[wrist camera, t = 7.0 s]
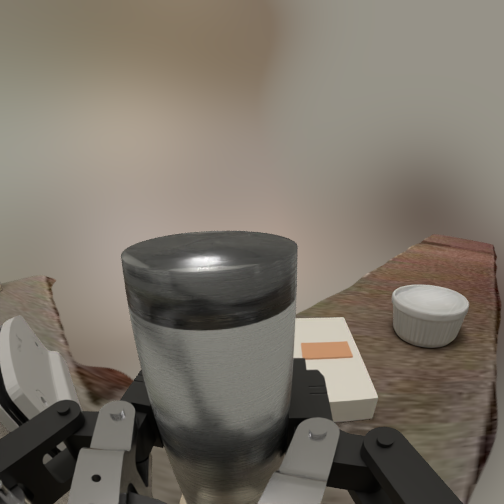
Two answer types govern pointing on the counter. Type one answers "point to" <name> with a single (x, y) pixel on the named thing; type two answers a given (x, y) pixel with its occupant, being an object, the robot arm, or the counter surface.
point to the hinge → (30, 377)
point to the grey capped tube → (216, 354)
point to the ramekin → (428, 314)
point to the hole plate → (336, 366)
